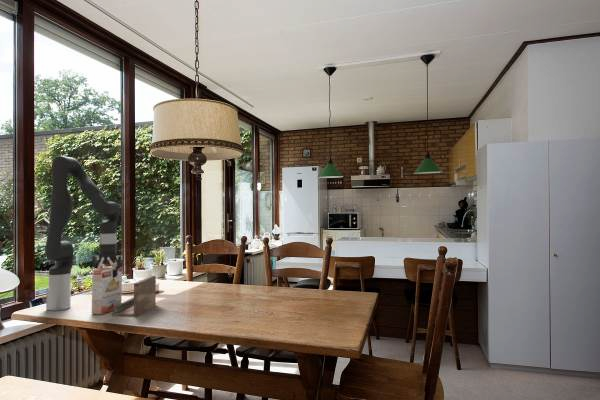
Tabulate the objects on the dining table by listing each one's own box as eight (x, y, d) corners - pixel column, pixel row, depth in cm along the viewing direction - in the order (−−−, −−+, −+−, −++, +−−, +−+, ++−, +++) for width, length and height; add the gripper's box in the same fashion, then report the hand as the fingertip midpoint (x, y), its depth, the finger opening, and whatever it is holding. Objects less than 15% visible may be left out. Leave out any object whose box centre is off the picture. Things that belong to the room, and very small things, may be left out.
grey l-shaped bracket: (112, 316, 170) (112, 283, 171) (132, 304, 190) (132, 275, 191) (137, 316, 170) (138, 283, 170) (155, 305, 190) (155, 275, 190)
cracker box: (102, 315, 172) (102, 269, 172) (91, 314, 173) (91, 269, 174) (122, 307, 186) (122, 265, 186) (111, 306, 187) (112, 265, 187)
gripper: (88, 243, 177) (88, 278, 176) (118, 243, 176) (118, 278, 176) (97, 242, 184) (97, 275, 184) (126, 242, 184) (126, 275, 183)
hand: (107, 277), depth 180 cm, fingers closed on cracker box, 6 cm apart
